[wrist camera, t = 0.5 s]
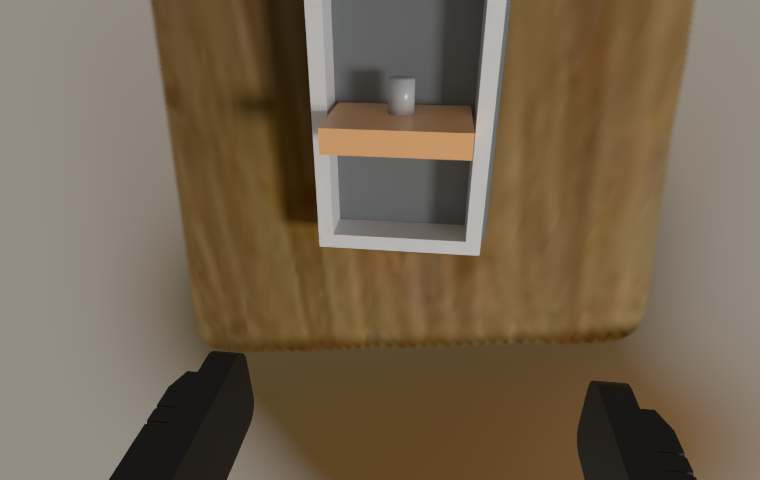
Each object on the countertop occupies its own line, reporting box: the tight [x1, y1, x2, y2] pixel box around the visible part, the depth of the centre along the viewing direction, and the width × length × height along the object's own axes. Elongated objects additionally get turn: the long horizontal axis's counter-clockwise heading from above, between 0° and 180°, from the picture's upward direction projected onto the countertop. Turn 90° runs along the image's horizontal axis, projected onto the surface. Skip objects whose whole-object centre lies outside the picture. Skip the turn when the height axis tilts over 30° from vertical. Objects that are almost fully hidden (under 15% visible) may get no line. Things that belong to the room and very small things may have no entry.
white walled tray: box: [304, 0, 511, 256], centre depth 32 cm, size 18×12×5 cm, turn 0°
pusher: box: [318, 76, 475, 161], centre depth 30 cm, size 4×8×6 cm, turn 90°
